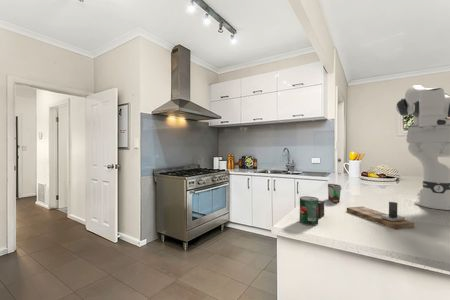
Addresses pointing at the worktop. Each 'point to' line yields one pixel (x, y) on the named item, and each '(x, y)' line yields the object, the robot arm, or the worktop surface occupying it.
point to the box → (320, 209)
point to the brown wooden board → (379, 218)
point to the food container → (334, 193)
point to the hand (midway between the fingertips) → (431, 152)
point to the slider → (393, 213)
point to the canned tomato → (309, 210)
